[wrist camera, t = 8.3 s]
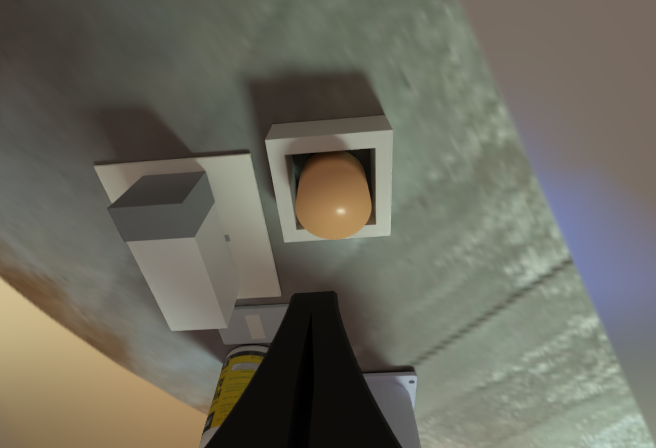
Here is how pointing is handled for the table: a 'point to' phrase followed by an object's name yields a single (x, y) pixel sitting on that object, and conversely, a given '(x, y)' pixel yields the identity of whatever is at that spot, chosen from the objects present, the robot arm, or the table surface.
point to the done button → (333, 195)
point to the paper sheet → (218, 211)
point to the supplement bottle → (231, 385)
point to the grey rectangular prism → (180, 248)
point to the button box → (324, 139)
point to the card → (253, 324)
